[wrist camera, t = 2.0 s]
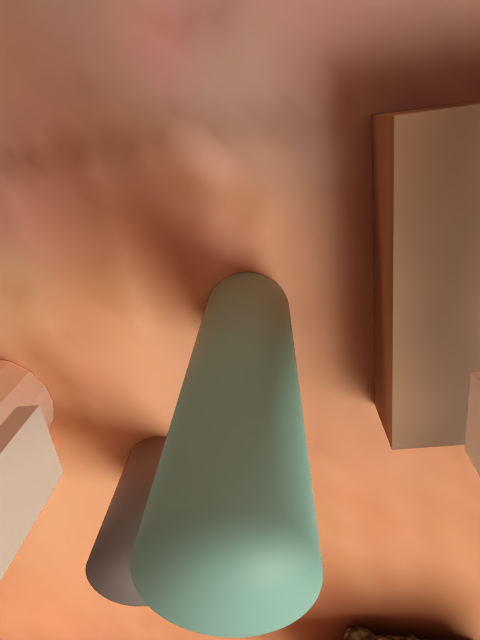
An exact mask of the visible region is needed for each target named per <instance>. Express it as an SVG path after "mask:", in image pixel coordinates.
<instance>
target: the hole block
mask: <svg viewBox="0 0 480 640" xmlns="http://www.w3.org/2000/svg"><path fill="white" fill-rule="evenodd" d="M372 174H373V262H374V350H375V406H376V409H377V411H378V414H379V417H380V419H381V422H382V425H383V427H384V430H385V432H386V435H387V438H388V440H389V443H390V446H391V448H392V450H395V449H409V448H424V447H438V446H453V445H465V437H466V425H467V413H468V401H469V389H470V378H471V373H473V372H480V100H479V101H472V102H464V103H457V104H450V105H442V106H435V107H428V108H421V109H413V110H406V111H399V112H391V113H384V114H377V115H372Z"/></svg>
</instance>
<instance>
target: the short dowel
mask: <svg viewBox="0 0 480 640" xmlns="http://www.w3.org/2000/svg"><path fill="white" fill-rule="evenodd" d="M166 438H167V437H151V438H147V439H145V440H142V441H141V442H139V443H138V444H136V445H135V446H134V448H133V449H132V450H131V452H130V455H129V457H128V460H127V462H126V465H125V467H124V470H123V472H122V475H121V477H120V480H119V483H118V485H117V488H116V490H115V493H114V495H113V498H112V500H111V503H110V505H109V508H108V510H107V513H106V515H105V518H104V521H103V523H102V526H101V528H100V531H99V533H98V536H97V538H96V541H95V543H94V546H93V548H92V551H91V553H90V556H89V559H88V561H87V564H86V576H87V579H88V581H89V583H90V584H91V586H92V587H93V588H94V589H95V590H96V591H97V592H98V593H99V594H101V595H102V596H103V597H105V598H107V599H109V600H111V601H113V602H116V603H119V604H123V605H128V606H148V605H147V604H146V603H145V602H144V600H143V599H142V598H141V597H140V595H139V593H138V592H137V590H136V588H135V586H134V584H133V581H132V577H131V573H130V560H131V554H132V551H133V547H134V544H135V541H136V537H137V534H138V531H139V527H140V524H141V521H142V518H143V514H144V511H145V508H146V504H147V501H148V498H149V494H150V491H151V488H152V484H153V481H154V478H155V474H156V471H157V468H158V464H159V461H160V458H161V454H162V451H163V448H164V444H165V441H166Z"/></svg>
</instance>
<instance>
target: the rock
mask: <svg viewBox="0 0 480 640" xmlns="http://www.w3.org/2000/svg"><path fill="white" fill-rule="evenodd" d="M343 640H419V639H417V638H416V637H415V636H414V635H413V634H410V635H407V636H404V637H402V636H395V637H394V636H390V635H386V636H384V635H378V636H376V635H375V634H373V633H372V632H371V631H370V630H369V629H368V628H361V627H360V626H354V627H350V628H347V629H346V630H345V632H344V637H343ZM424 640H427V639H424Z"/></svg>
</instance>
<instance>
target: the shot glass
mask: <svg viewBox="0 0 480 640" xmlns="http://www.w3.org/2000/svg"><path fill="white" fill-rule="evenodd" d="M31 405H40V408H41V411H42V414H43V416H44V419H45V422H46V425H47V428H48V429H49V427H50V425H51V423H52V421H53V419H54V415H53V401H52V399H51V397H50V395H49V393H48V391H47V389H46V387H45V385H44V384H43V383H42V382H41V381H40V380H39V379H38V378H37V377H36V376H34V375H33V374H32V373H31V372H30V371H29V370H27V369H25V368H23V367H21V366H19V365H17V364H15V363H13V362H11V361H5V360H0V425H1V424H2V423H3V422H4V421H5V419H6V418H7V417H8V416H9V415H10V414H11V413H12V411H13V410H14V409H15V408H16V407H18V406H31Z"/></svg>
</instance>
